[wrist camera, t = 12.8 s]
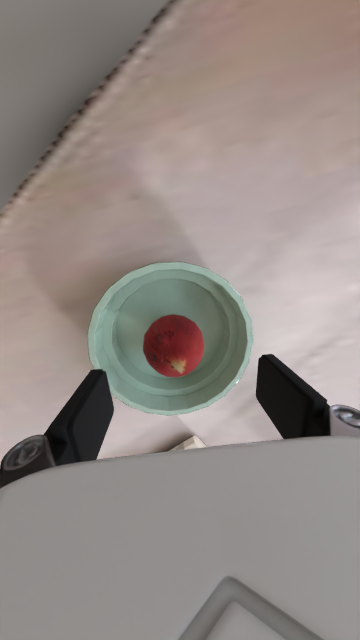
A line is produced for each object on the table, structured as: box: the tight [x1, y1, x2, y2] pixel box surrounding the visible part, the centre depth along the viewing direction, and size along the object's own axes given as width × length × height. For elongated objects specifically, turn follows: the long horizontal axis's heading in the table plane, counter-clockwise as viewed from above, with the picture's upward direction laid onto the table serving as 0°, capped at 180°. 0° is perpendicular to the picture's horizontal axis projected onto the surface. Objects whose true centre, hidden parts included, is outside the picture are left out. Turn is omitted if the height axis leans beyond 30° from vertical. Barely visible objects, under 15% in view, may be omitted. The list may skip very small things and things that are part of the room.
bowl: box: [88, 262, 253, 416], centre depth 19 cm, size 15×15×5 cm
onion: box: [143, 314, 204, 377], centre depth 17 cm, size 6×6×8 cm
